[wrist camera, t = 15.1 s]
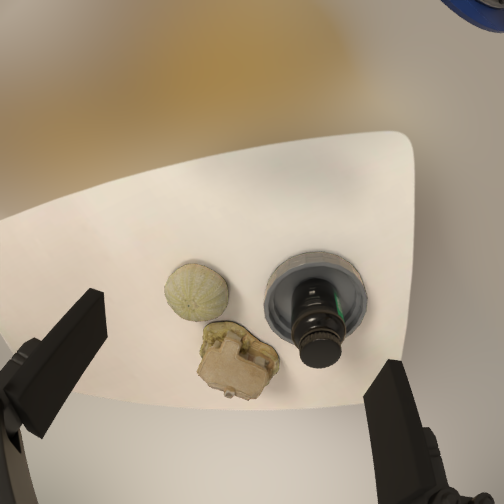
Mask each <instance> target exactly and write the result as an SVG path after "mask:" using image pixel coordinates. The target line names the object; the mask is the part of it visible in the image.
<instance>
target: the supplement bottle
mask: <svg viewBox="0 0 504 504" xmlns="http://www.w3.org/2000/svg"><path fill="white" fill-rule="evenodd" d="M345 336H346V325H345V320H344V316H343V311H342V307H341V302H340V298H339V294H338V291H337V289H336V287H335V286H334V285H333V284H332V283H331V282H329V281H327V280H325V279H321V278H312V279H308V280H305V281H303V282H302V283H300V284H299V285H298V286H297V287H296V288H295V290H294V291H293V294H292V299H291V337H292V341H293V343H294V344H295V346H296V347H297V348H298V349H299V351H300V359H301V360H302V362H304V364H306V365H307V366H309V367H312V368H326V367H329V366H331V365H333V364H334V363H336V362H337V361H338V359H339V358H340V356H341V352H342V351H341V344H342V342H343V341H344V339H345Z"/></svg>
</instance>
